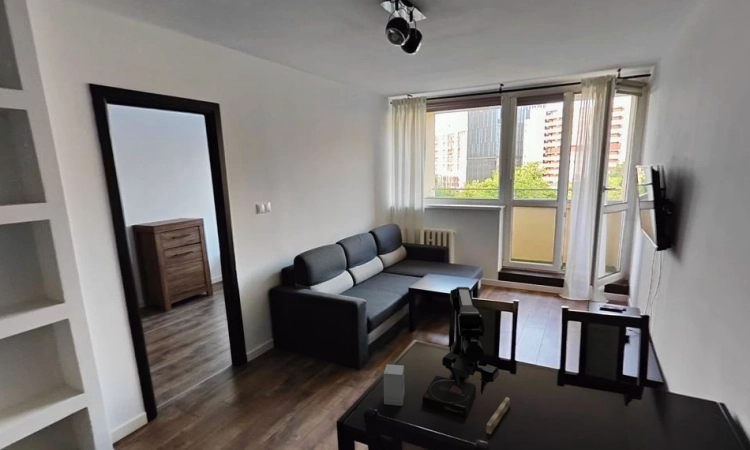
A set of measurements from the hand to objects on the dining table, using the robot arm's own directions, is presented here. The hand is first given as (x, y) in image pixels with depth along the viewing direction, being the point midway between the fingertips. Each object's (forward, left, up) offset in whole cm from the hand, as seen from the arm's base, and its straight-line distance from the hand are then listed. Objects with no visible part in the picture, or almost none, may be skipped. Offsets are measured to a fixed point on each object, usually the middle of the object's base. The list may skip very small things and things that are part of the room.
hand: (469, 389), depth 123 cm
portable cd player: (-7, -11, -13) cm, 19 cm away
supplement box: (+6, -28, -12) cm, 32 cm away
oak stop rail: (-7, +8, -12) cm, 16 cm away
